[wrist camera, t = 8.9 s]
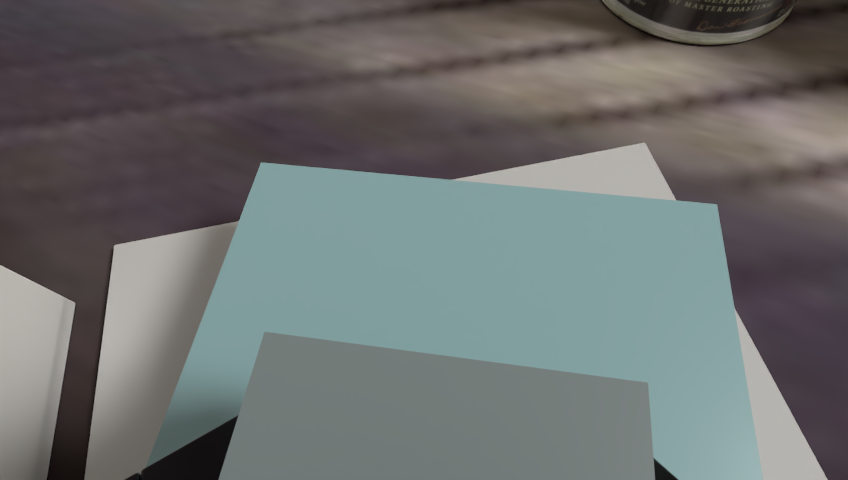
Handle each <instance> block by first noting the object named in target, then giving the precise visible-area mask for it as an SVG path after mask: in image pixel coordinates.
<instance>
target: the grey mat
mask: <svg viewBox="0 0 848 480" xmlns="http://www.w3.org/2000/svg"><path fill="white" fill-rule="evenodd" d="M454 180H457V181H468V182H479V183H490V184H501V185H512V186H523V187H533V188H544V189H555V190H566V191H577V192H588V193H599V194H610V195H621V196H632V197H642V198H653V199H664V200H675V201H676V199H675V197H674V196H673V194H672V192H671V190H670V188H669V186H668V184H667V183H666V181H665V179H664V177H663V175H662V173H661V172H660V170H659V168H658V166H657V164H656V162H655V160H654V159H653V157H652V155H651V153H650V151H649V149H648V148H647V146H646V144H645V143H640V144H635V145H630V146H625V147H620V148H615V149H609V150H604V151H599V152H594V153H589V154H584V155H578V156H573V157H568V158H563V159H558V160H553V161H547V162H542V163H537V164H532V165H527V166H522V167H516V168H511V169H506V170H501V171H496V172H491V173H485V174H480V175H475V176H470V177H465V178H460V179H454ZM238 223H239V221H237V222H232V223H227V224H222V225H217V226H211V227H206V228H201V229H196V230H191V231H185V232H180V233H175V234H170V235H165V236H160V237H154V238H149V239H144V240H139V241H134V242H129V243H123V244H118V245H114V252H113V260H112V268H111V276H110V283H109V291H108V299H107V307H106V315H105V322H104V330H103V338H102V346H101V353H100V361H99V369H98V377H97V384H96V392H95V400H94V408H93V415H92V423H91V431H90V439H89V447H88V454H87V462H86V470H85V478H84V480H125V479H126V478H128V477H130V476H132V475H133V474H135V473H140V475H141V471H142V470H143V469H144V468H146V465H147V463H148V460H149V457H150V455H151V452H152V449H153V447H154V444H155V442H156V439H157V436H158V434H159V431H160V428H161V426H162V423H163V420H164V418H165V415H166V412H167V410H168V407H169V405H170V402H171V399H172V397H173V394H174V391H175V389H176V386H177V383H178V381H179V378H180V376H181V373H182V370H183V368H184V365H185V362H186V360H187V357H188V354H189V352H190V349H191V347H192V344H193V341H194V339H195V336H196V333H197V331H198V328H199V325H200V323H201V320H202V317H203V315H204V312H205V310H206V307H207V304H208V302H209V299H210V296H211V294H212V291H213V288H214V286H215V283H216V281H217V278H218V275H219V273H220V270H221V267H222V265H223V262H224V259H225V257H226V254H227V252H228V249H229V246H230V244H231V241H232V238H233V236H234V233H235V230H236V228H237V225H238ZM734 309H735V308H734ZM735 315H736V321H737V327H738V333H739V339H740V345H741V351H742V356H743V362H744V368H745V374H746V380H747V386H748V392H749V398H750V404H751V410H752V416H753V422H754V428H755V434H756V440H757V446H758V452H759V458H760V464H761V470H762V476H763V480H827V478H826V476H825V474H824V473H823V471H822V469H821V467H820V465H819V463H818V461H817V460H816V458H815V456H814V454H813V452H812V450H811V449H810V447H809V445H808V443H807V441H806V439H805V437H804V436H803V434H802V432H801V430H800V428H799V426H798V425H797V423H796V421H795V419H794V417H793V415H792V413H791V412H790V410H789V408H788V406H787V404H786V402H785V401H784V399H783V397H782V395H781V393H780V391H779V389H778V388H777V386H776V384H775V382H774V380H773V378H772V377H771V375H770V373H769V371H768V369H767V367H766V365H765V364H764V362H763V360H762V358H761V356H760V354H759V353H758V351H757V349H756V347H755V345H754V343H753V341H752V340H751V338H750V336H749V334H748V332H747V330H746V329H745V327H744V325H743V323H742V321H741V319H740V317H739V316H738V314H737V312H736V310H735Z"/></svg>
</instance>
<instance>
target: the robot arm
mask: <svg viewBox="0 0 848 480" xmlns="http://www.w3.org/2000/svg"><path fill="white" fill-rule="evenodd" d="M237 418H238V415H237V416H236V417H234V418H232V419H230V420H229V421H227V422H225V423H223V424H222V425H220V426H218V427H216V428H215V429H213V430H211V431H209V432H207V433H206V434H204V435H202V436H200V437H199V438H197V439H195V440H193V441H192V442H190V443H188V444H186V445H185V446H183V447H181V448H179V449H178V450H176V451H174V452H172V453H171V454H169V455H167V456H165V457H163V458H162V459H160V460H158V461H156V462H155V463H153V464H151V465H149V466H148V467H146V468H144V469H143V470H142V471H141V475H140V473H135V474H133V475H132V476H130V477H128V478H126V479H125V480H218V479H219V476H220V473H221V470H222V467H223V463H224V460H225V457H226V454H227V451H228V447H229V444H230V441H231V438H232V434H233V431H234V428H235V425H236V422H237ZM654 471H655V480H678V479H677V478H676V477H675V476H674V475H673V474H671V473H670V472H669V471H668V470H667V469H666V468H665V467H664V466H662V465H661V464H660V463H659V462H658V461H657V460H656V459H655V458H654Z"/></svg>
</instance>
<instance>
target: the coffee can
mask: <svg viewBox="0 0 848 480" xmlns="http://www.w3.org/2000/svg"><path fill="white" fill-rule="evenodd" d="M602 1H603V3H604V4H605V5H606V6H607V7H608V8H609V9H610V10H611V11H612V12H613V13H614V14H616V15H617V16H618V17H619V18H621V19H622V20H624V21H625V22H627V23H628V24H630V25H631V26H633V27H636V28H638V29H640V30H642V31H644V32H647V33H649V34H652V35H655V36H658V37H661V38H664V39H667V40H671V41H676V42H681V43H687V44H696V45H719V44H732V43H739V42H744V41H748V40H751V39H754V38H757V37H760V36H762V35H764V34H766V33H768V32H770V31H771V30H773V29H775V28H776V27H778V26H779V25H780V24H781V23H782V22H783V21H784V20H785V19H786V17H787V16H788V15H789V13H790V12H791V10H792V8H793V6H794V4H795V3H796V1H797V0H602Z"/></svg>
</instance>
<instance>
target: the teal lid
mask: <svg viewBox="0 0 848 480" xmlns="http://www.w3.org/2000/svg"><path fill="white" fill-rule="evenodd" d="M237 415H238V418H237V422H236V425H235V428H234V431H233V434H232V438H231V441H230V444H229V447H228V451H227V454H226V457H225V460H224V463H223V467H222V470H221V473H220V476H219V479H218V480H655V471H654V458H655V459H656V460H657V461H658V462H659V463H660V464H661V465H662V466H664V467H665V468H666V469H667V470H668V471H669V472H670V473H671V474H673V475H674V476H675V477H676V478H677V479H678V480H763V476H762V470H761V464H760V458H759V452H758V446H757V440H756V434H755V428H754V422H753V416H752V410H751V404H750V398H749V392H748V386H747V380H746V374H745V368H744V362H743V356H742V351H741V345H740V339H739V333H738V327H737V321H736V315H735V309H734V303H733V297H732V291H731V285H730V279H729V273H728V267H727V261H726V255H725V249H724V243H723V237H722V232H721V226H720V220H719V214H718V208H717V204H708V203H697V202H686V201H675V200H664V199H653V198H642V197H632V196H621V195H610V194H599V193H588V192H577V191H566V190H555V189H544V188H533V187H523V186H512V185H501V184H490V183H479V182H468V181H457V180H446V179H435V178H424V177H413V176H403V175H392V174H381V173H370V172H359V171H348V170H337V169H326V168H315V167H304V166H293V165H283V164H272V163H261V164H260V167H259V170H258V172H257V175H256V178H255V180H254V183H253V186H252V188H251V191H250V193H249V196H248V199H247V201H246V204H245V207H244V209H243V212H242V215H241V217H240V220H239V223H238V225H237V228H236V230H235V233H234V236H233V238H232V241H231V244H230V246H229V249H228V252H227V254H226V257H225V259H224V262H223V265H222V267H221V270H220V273H219V275H218V278H217V281H216V283H215V286H214V288H213V291H212V294H211V296H210V299H209V302H208V304H207V307H206V310H205V312H204V315H203V317H202V320H201V323H200V325H199V328H198V331H197V333H196V336H195V339H194V341H193V344H192V347H191V349H190V352H189V354H188V357H187V360H186V362H185V365H184V368H183V370H182V373H181V376H180V378H179V381H178V383H177V386H176V389H175V391H174V394H173V397H172V399H171V402H170V405H169V407H168V410H167V412H166V415H165V418H164V420H163V423H162V426H161V428H160V431H159V434H158V436H157V439H156V442H155V444H154V447H153V449H152V452H151V455H150V457H149V460H148V463H147V465H146V467H148V466H149V465H151V464H153V463H155V462H156V461H158V460H160V459H162V458H163V457H165V456H167V455H169V454H171V453H172V452H174V451H176V450H178V449H179V448H181V447H183V446H185V445H186V444H188V443H190V442H192V441H193V440H195V439H197V438H199V437H200V436H202V435H204V434H206V433H207V432H209V431H211V430H213V429H215V428H216V427H218V426H220V425H222V424H223V423H225V422H227V421H229V420H230V419H232V418H234V417H236V416H237Z"/></svg>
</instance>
